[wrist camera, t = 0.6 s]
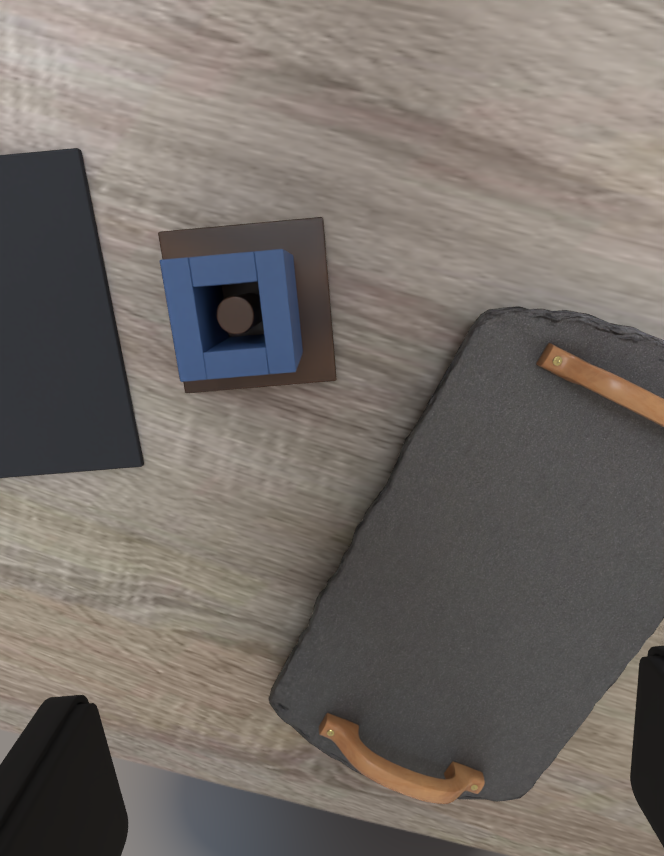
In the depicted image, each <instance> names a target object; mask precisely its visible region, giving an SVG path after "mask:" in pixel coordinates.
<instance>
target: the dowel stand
mask: <svg viewBox="0 0 664 856" xmlns="http://www.w3.org/2000/svg"><path fill="white" fill-rule="evenodd" d="M158 235H159V240H160V246H161V252H162V258H163V260H164V259H175V258H186V257H188V258H189V257H198V256H209V255H220V254H231V253H242V252H255V251H264V250H276V249H283V250H285V251H287V252H288V253H290V254H292V255H293V259H294V269H295V279H296V289H297V299H298V308H299V318H300V328H301V338H302V348H303V353H302V356H301V359H300V362H299V364H298V367H297V370H296V372H291V373H279V374H268V375H256V376H244V377H232V378H220V379H209V380H208V379H207V380H197V381H185V382H184V388H185V392H186V393H194V392H206V391H218V390H230V389H242V388H253V387H265V386H277V385H289V384H301V383H313V382H325V381H335V380H336V367H335V355H334V343H333V331H332V319H331V307H330V296H329V284H328V272H327V260H326V248H325V236H324V224H323V218H322V217H317V218H306V219H295V220H284V221H273V222H262V223H251V224H239V225H228V226H217V227H206V228H195V229H184V230H173V231H162V232H159V233H158ZM222 292H223V299H224V300H222V301H221V303H220V304H219V306H218V308H217V312H216V316H217V321H218V323H219V325H220V327H221V328H222V329H223V330H224V331H226V332H228V335H229V337H237V336H249V335H260V334H264V328H263V320H262V312H261V303H260V295H259V287H258V282H252V283H241V284H229V285H222Z"/></svg>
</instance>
